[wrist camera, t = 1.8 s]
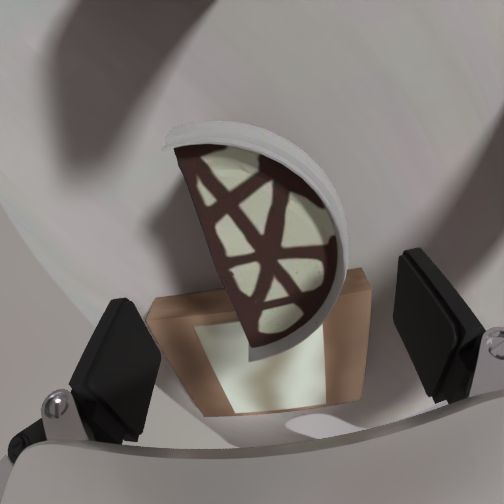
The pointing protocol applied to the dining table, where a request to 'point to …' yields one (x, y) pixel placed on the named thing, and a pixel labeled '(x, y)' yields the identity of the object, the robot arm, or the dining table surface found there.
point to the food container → (266, 228)
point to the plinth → (267, 370)
